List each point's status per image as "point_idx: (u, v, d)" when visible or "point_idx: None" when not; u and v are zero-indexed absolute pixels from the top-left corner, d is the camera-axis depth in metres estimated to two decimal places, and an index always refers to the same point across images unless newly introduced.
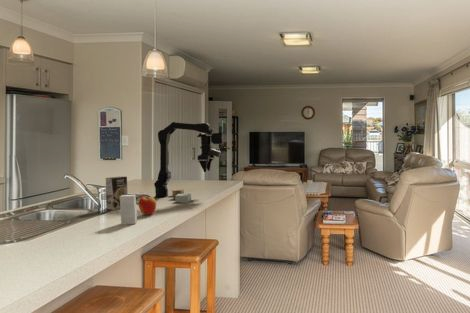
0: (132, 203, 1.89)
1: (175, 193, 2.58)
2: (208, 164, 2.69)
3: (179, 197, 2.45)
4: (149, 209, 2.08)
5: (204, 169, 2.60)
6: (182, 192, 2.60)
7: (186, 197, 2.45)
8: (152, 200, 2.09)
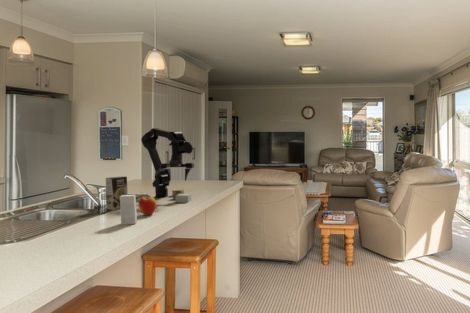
0: (132, 203, 1.89)
1: (175, 193, 2.58)
2: None
3: (179, 197, 2.45)
4: (149, 209, 2.08)
5: None
6: (182, 192, 2.60)
7: (186, 197, 2.45)
8: (152, 200, 2.09)
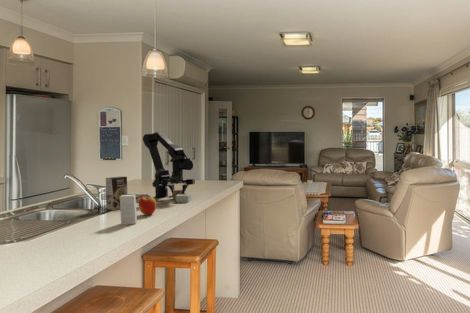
0: (132, 203, 1.89)
1: (175, 193, 2.58)
2: None
3: (179, 197, 2.45)
4: (149, 209, 2.08)
5: None
6: None
7: (186, 197, 2.45)
8: (152, 200, 2.09)
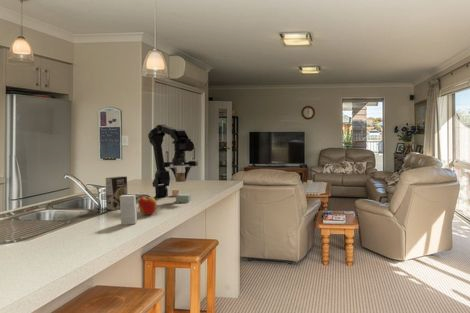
0: (132, 203, 1.89)
1: (177, 175, 2.51)
2: None
3: (180, 197, 2.45)
4: (149, 209, 2.08)
5: None
6: None
7: (187, 197, 2.45)
8: (152, 200, 2.09)
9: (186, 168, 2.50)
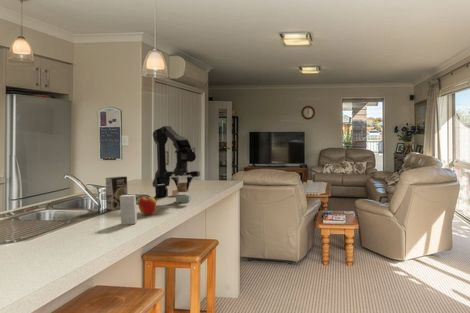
0: (132, 203, 1.89)
1: (179, 185, 2.46)
2: None
3: (180, 197, 2.45)
4: (149, 209, 2.08)
5: None
6: None
7: (187, 197, 2.45)
8: (152, 200, 2.09)
9: (188, 178, 2.45)
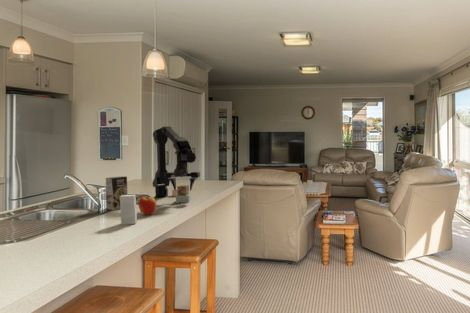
0: (132, 203, 1.89)
1: (179, 189, 2.46)
2: None
3: (180, 197, 2.45)
4: (149, 209, 2.08)
5: None
6: (187, 188, 2.48)
7: (187, 197, 2.45)
8: (152, 200, 2.09)
9: (191, 179, 2.45)
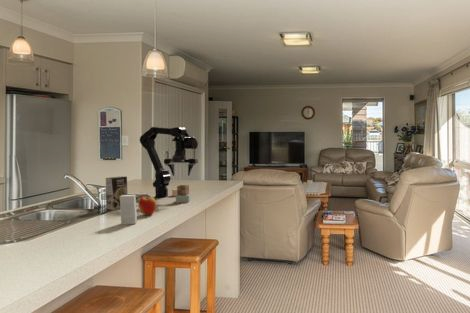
0: (132, 203, 1.89)
1: (179, 189, 2.46)
2: None
3: (180, 197, 2.45)
4: (149, 209, 2.08)
5: None
6: (187, 188, 2.47)
7: (187, 197, 2.45)
8: (152, 200, 2.09)
9: (189, 165, 2.59)
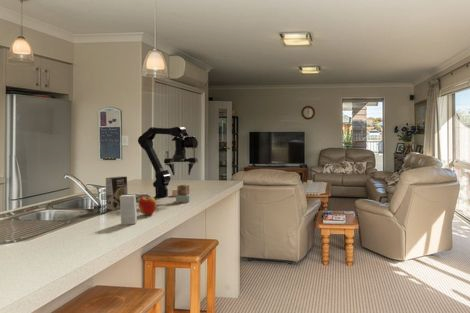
0: (132, 203, 1.89)
1: (179, 189, 2.46)
2: None
3: (180, 197, 2.45)
4: (149, 209, 2.08)
5: None
6: (187, 188, 2.47)
7: (187, 197, 2.45)
8: (152, 200, 2.09)
9: (189, 164, 2.60)
